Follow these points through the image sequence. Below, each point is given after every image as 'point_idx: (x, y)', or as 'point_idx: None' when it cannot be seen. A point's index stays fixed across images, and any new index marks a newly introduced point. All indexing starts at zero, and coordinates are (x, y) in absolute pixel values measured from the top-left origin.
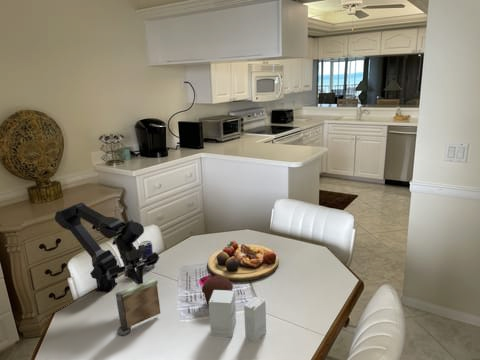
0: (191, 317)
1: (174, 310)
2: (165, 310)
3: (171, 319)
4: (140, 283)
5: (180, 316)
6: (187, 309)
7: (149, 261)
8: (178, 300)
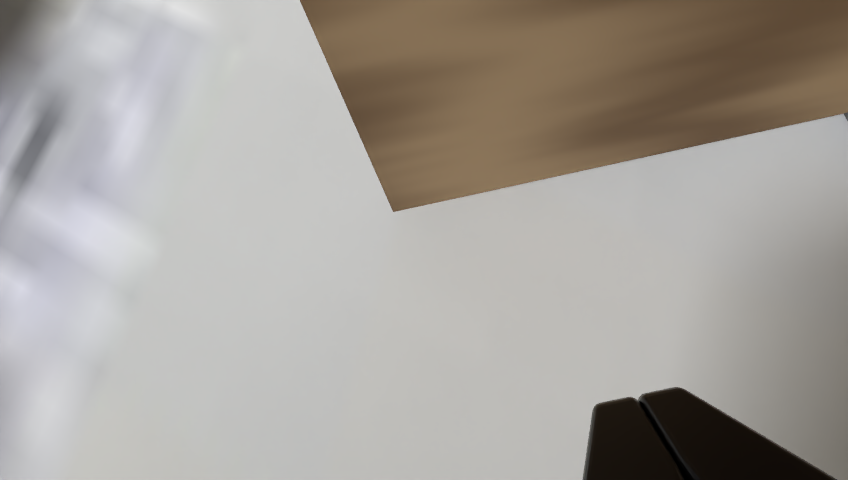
0: (79, 13)
1: (187, 235)
2: (294, 296)
3: (291, 74)
4: (704, 443)
5: (175, 82)
6: (40, 176)
7: None
8: (34, 453)
